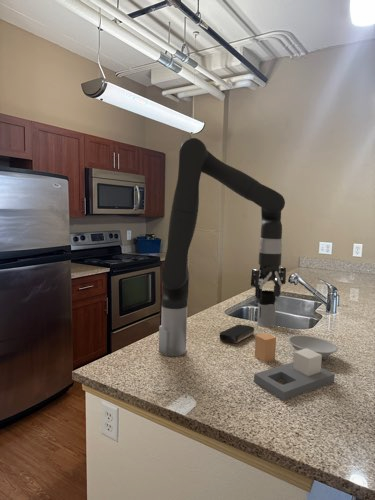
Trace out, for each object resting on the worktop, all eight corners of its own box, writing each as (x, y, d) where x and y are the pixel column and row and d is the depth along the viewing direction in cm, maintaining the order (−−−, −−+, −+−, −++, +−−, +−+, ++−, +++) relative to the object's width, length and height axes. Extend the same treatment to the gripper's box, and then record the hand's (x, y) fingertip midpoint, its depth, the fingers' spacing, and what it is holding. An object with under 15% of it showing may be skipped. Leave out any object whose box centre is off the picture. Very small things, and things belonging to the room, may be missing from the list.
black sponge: (235, 346, 132) (235, 337, 131) (217, 340, 137) (217, 331, 136) (255, 335, 144) (256, 326, 144) (238, 330, 149) (238, 322, 149)
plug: (264, 362, 118) (265, 340, 117) (254, 356, 122) (255, 335, 121) (274, 359, 120) (276, 337, 119) (264, 354, 125) (266, 332, 124)
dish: (279, 354, 124) (279, 341, 124) (296, 344, 135) (297, 331, 134) (327, 371, 112) (328, 356, 112) (343, 358, 123) (344, 344, 122)
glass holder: (278, 327, 154) (280, 294, 152) (247, 327, 152) (249, 294, 151) (272, 321, 162) (273, 290, 160) (242, 321, 161) (244, 290, 159)
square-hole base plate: (283, 400, 94) (285, 373, 93) (253, 381, 104) (255, 356, 103) (334, 381, 105) (336, 357, 104) (302, 366, 115) (304, 343, 115)
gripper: (262, 253, 110) (260, 302, 112) (293, 251, 117) (290, 297, 119) (247, 251, 116) (245, 297, 118) (277, 249, 124) (274, 293, 126)
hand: (267, 297), depth 119 cm, fingers open, 8 cm apart
